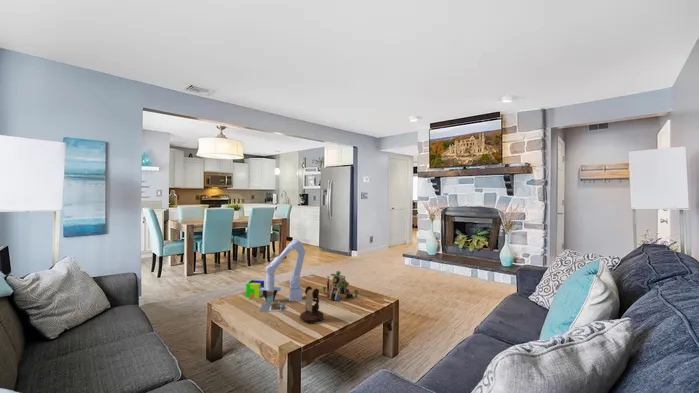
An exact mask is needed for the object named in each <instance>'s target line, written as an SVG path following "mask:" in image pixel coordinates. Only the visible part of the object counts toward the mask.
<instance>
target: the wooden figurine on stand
mask: <svg viewBox="0 0 699 393" xmlns="http://www.w3.org/2000/svg"><path fill="white" fill-rule="evenodd" d="M319 290H320V289H319V288H314V289H313V288H312V287H311V286H309V285H308V286H307V287H306V288H305V290H304V294H305V297H304V299H305V301H304V302H305V304H304V309H305V310H304V311H303V312H301V313H300V316H299V318H300V320H301V321H303V322H307V323H310V324H311V325H313V323H314V322H318V321H319V322H320V321H321V320H323V319H324V312H322V311H319V309H320V304H319V303H320V299H319V296H320V295H319V294H320V291H319ZM313 302H314V304H313Z"/></svg>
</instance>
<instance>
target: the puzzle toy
mask: <svg viewBox="0 0 699 393" xmlns="http://www.w3.org/2000/svg"><path fill="white" fill-rule="evenodd" d="M260 288H265V281H264V280H255V279H253V280H250V281H249V282H248V283H246V285H245V298H249V297H253V298H252V299H260V298H261V297H262V296H264V295H263V291H261V292H260Z"/></svg>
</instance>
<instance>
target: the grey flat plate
mask: <svg viewBox="0 0 699 393" xmlns="http://www.w3.org/2000/svg"><path fill="white" fill-rule="evenodd" d="M271 304H272V303H262V304H261V307H260V309H259V313H265V312H266V313H267V312H271V313H273V312H284V311H285V308H286V303H285V302H280V308H279V310H271Z"/></svg>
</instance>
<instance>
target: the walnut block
mask: <svg viewBox="0 0 699 393" xmlns="http://www.w3.org/2000/svg"><path fill="white" fill-rule="evenodd" d="M280 303H281V302H280V300H276V301H275V300H274V301H272V303H270V304H271V310H279V308H280Z"/></svg>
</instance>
